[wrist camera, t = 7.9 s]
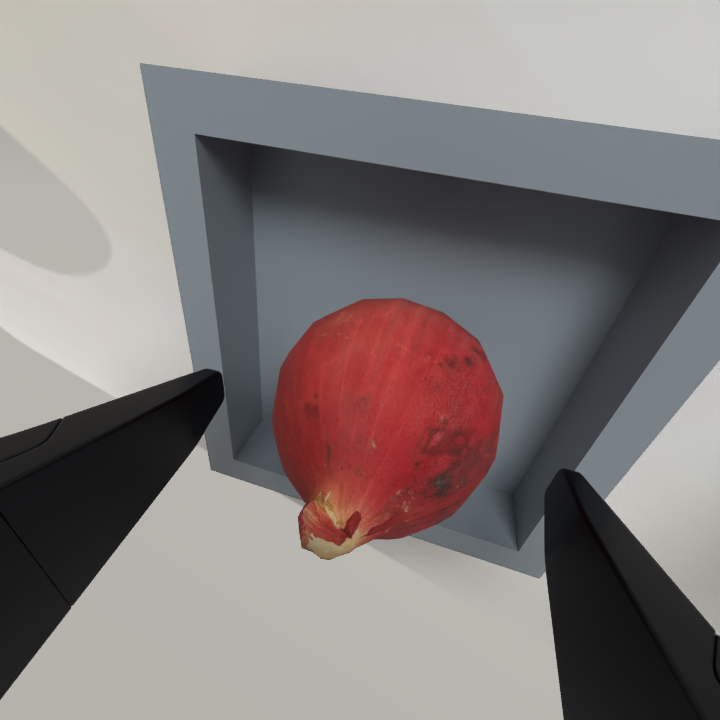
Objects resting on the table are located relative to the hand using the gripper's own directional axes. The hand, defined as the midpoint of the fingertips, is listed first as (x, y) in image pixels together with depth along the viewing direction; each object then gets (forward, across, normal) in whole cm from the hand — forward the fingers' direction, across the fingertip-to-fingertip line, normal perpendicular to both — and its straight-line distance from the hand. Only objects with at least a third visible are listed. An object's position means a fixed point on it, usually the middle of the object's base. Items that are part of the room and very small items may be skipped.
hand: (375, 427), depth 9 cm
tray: (+5, 0, 0) cm, 5 cm away
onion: (+4, 0, 0) cm, 4 cm away
